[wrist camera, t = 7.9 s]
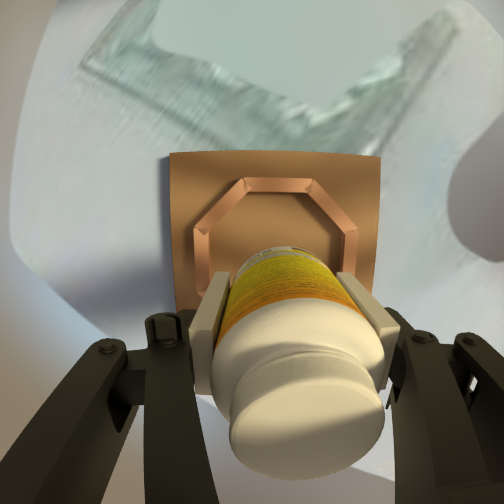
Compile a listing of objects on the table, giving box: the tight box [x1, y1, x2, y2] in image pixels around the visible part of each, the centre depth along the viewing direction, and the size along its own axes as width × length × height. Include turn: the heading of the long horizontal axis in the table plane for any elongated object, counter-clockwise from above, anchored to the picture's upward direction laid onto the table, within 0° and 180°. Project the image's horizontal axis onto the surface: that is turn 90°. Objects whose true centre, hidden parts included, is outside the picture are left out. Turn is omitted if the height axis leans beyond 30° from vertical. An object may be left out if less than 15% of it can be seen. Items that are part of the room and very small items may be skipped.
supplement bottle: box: [210, 246, 385, 481], centre depth 11 cm, size 6×6×10 cm
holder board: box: [170, 150, 381, 312], centre depth 23 cm, size 16×16×2 cm
